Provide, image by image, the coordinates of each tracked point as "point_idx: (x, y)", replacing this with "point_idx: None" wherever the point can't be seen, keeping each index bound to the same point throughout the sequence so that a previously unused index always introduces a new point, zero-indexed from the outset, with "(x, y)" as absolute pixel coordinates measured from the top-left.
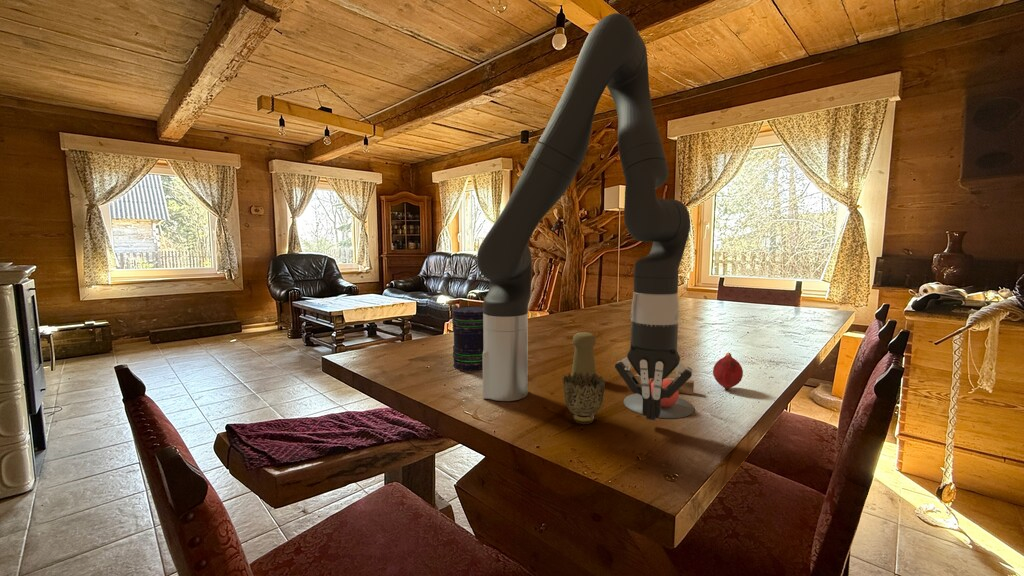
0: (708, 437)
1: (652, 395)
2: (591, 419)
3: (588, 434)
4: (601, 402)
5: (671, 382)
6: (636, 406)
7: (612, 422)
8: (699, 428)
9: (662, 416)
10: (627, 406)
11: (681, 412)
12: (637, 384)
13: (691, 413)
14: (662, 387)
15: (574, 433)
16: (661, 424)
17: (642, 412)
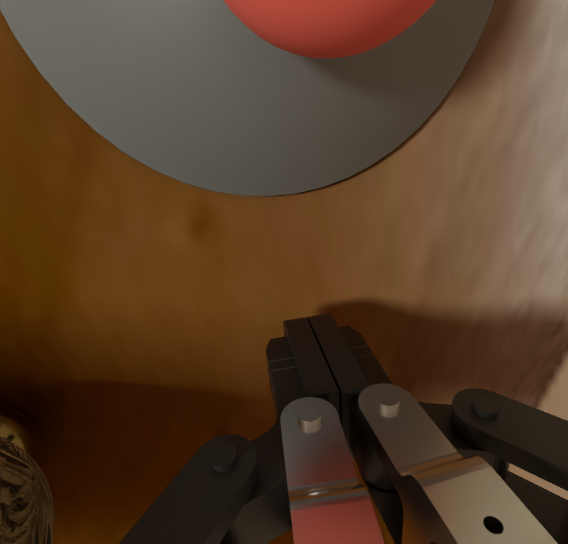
0: (524, 287)
1: (251, 28)
2: (37, 461)
3: (94, 507)
4: (46, 536)
5: (556, 475)
6: (137, 79)
7: (118, 368)
8: (502, 214)
9: (331, 173)
10: (82, 115)
11: (432, 37)
12: (242, 529)
13: (488, 10)
14: (367, 7)
15: None
16: (337, 264)
17: (270, 387)
